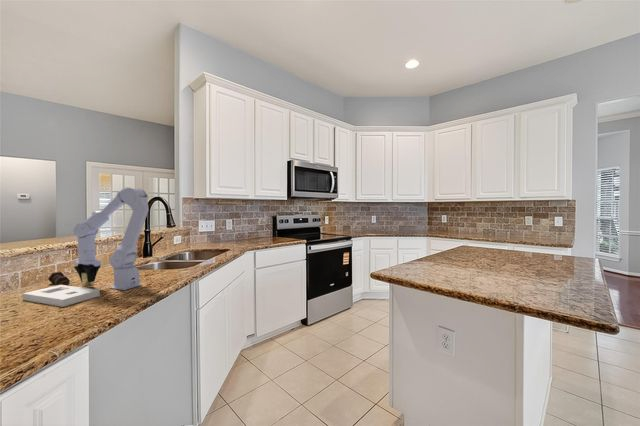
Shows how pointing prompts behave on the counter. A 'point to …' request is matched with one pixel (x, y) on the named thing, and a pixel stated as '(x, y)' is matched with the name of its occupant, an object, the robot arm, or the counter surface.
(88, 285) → the brass cylinder
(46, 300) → the fitting plate
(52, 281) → the bolt
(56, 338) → the counter surface
